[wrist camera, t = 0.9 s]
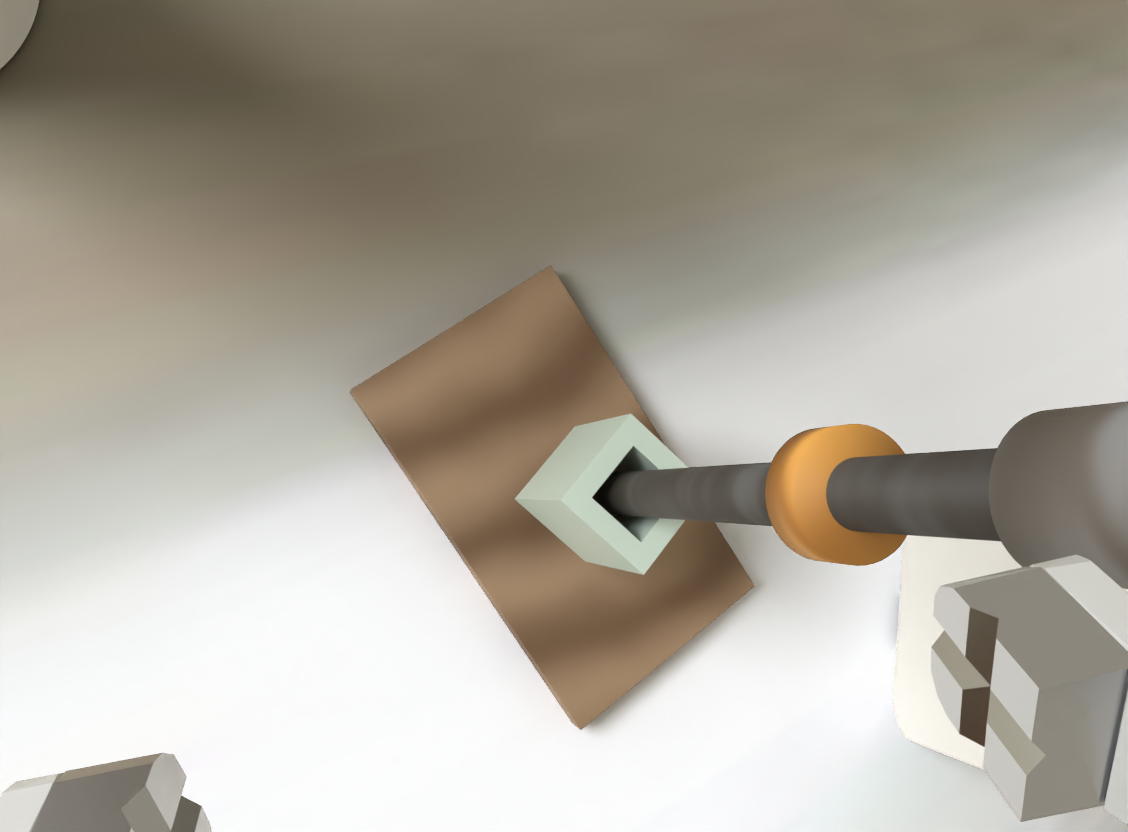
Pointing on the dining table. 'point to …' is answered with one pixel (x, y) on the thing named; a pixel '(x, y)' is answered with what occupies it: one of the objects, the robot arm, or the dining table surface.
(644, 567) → the sleeve
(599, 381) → the stand
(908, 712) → the cable organizer
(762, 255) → the dining table surface
